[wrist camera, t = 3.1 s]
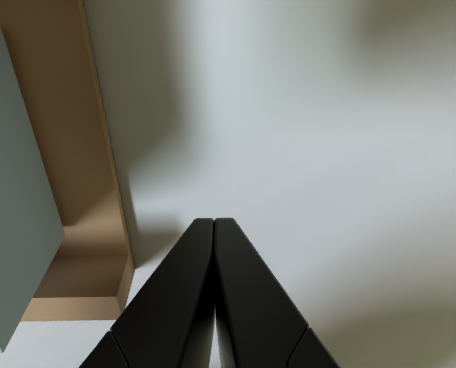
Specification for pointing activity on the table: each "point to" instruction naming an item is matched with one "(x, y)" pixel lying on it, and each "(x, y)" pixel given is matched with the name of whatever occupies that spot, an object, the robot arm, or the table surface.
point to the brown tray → (71, 160)
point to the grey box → (21, 206)
